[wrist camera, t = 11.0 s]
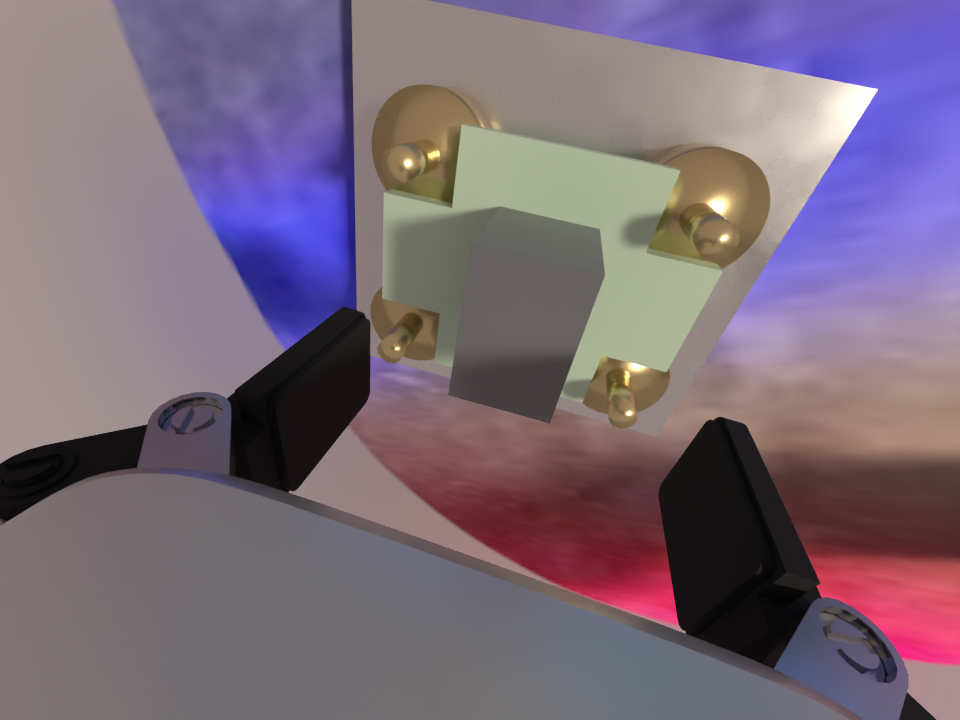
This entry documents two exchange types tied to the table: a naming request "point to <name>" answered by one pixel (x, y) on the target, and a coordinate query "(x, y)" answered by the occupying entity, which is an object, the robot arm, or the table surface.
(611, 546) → the table surface
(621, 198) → the board
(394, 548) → the robot arm
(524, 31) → the chassis
